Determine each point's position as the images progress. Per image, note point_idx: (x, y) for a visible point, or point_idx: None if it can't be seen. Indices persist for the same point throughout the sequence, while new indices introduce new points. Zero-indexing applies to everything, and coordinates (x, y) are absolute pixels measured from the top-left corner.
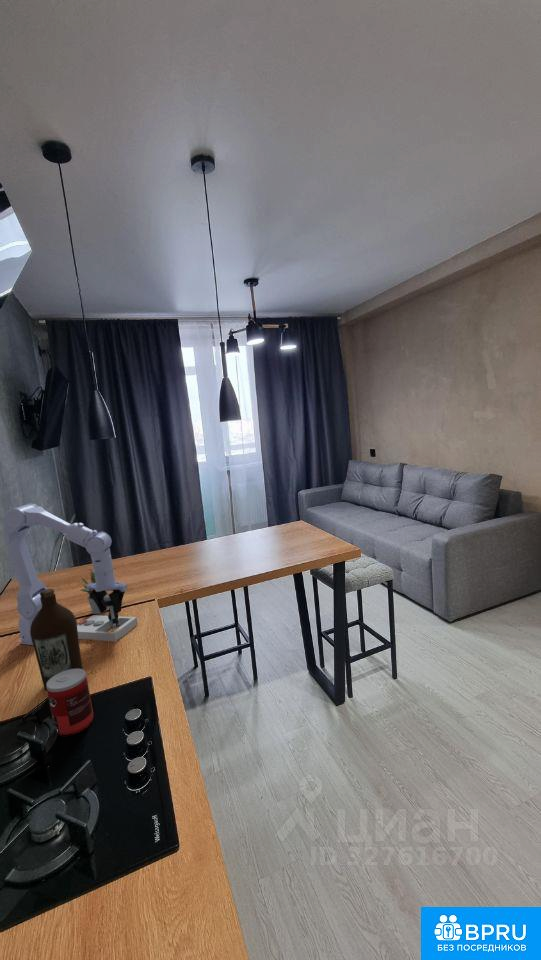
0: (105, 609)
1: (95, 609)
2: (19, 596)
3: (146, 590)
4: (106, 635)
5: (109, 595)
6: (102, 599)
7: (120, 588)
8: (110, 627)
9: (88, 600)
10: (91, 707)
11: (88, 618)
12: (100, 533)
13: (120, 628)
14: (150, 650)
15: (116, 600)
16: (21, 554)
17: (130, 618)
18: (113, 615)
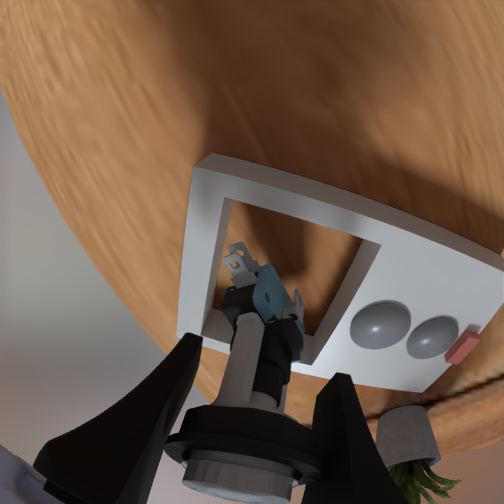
0: (319, 400)
1: (416, 420)
2: None
3: None
4: (271, 180)
5: (98, 497)
6: (318, 478)
7: (7, 487)
8: (325, 316)
9: (438, 450)
10: None
11: (439, 374)
12: None
13: (192, 236)
14: (23, 80)
15: (99, 420)
16: None
17: (203, 336)
18: (238, 335)
